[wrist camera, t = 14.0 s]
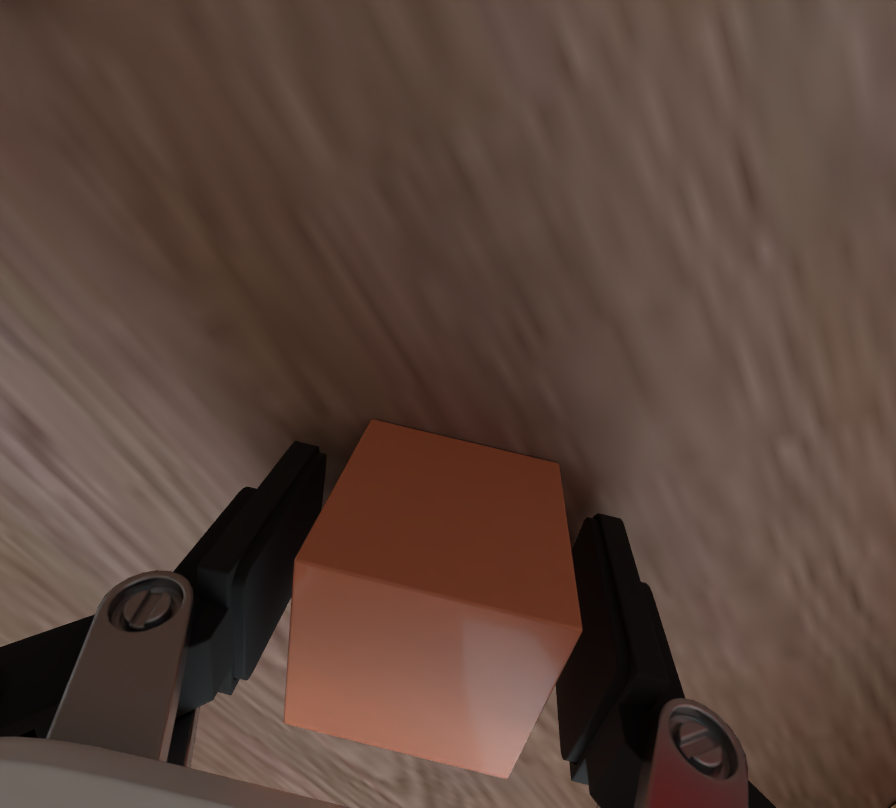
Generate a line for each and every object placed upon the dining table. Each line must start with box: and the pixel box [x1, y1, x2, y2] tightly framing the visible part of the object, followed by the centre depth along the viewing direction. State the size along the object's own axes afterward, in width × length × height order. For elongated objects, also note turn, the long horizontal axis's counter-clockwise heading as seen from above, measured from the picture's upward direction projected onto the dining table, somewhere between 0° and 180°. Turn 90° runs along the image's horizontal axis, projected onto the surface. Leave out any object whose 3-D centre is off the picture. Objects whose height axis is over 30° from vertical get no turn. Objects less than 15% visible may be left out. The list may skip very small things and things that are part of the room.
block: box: [284, 419, 582, 779], centre depth 10 cm, size 4×4×4 cm
